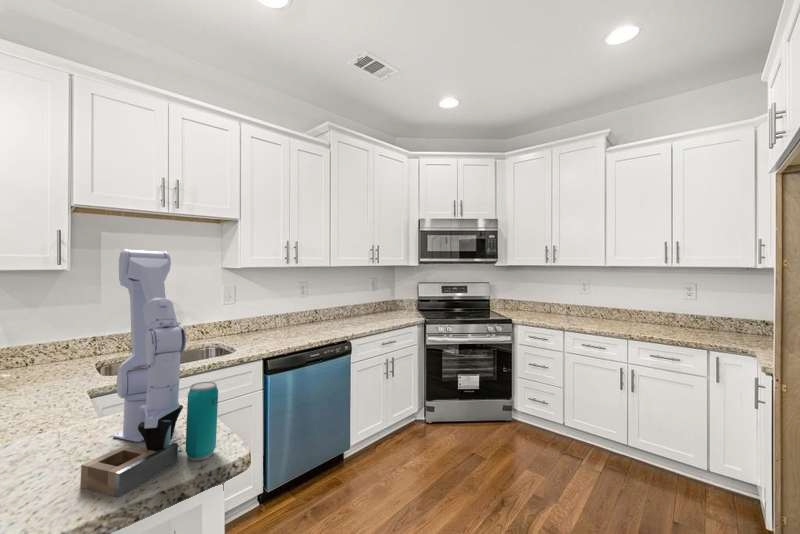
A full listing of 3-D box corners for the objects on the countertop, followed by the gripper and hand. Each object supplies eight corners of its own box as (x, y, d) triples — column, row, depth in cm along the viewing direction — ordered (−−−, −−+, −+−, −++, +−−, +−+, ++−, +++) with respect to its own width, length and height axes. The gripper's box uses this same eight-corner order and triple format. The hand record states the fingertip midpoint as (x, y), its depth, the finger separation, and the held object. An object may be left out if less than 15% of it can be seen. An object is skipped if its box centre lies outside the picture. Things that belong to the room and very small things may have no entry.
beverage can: (219, 448, 82) (222, 381, 82) (210, 461, 76) (213, 389, 77) (191, 449, 81) (194, 381, 81) (180, 463, 75) (183, 389, 76)
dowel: (160, 451, 80) (162, 419, 80) (173, 454, 79) (175, 421, 79) (146, 459, 76) (148, 425, 77) (159, 461, 76) (160, 427, 76)
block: (124, 465, 74) (125, 445, 74) (155, 472, 72) (156, 451, 72) (80, 487, 66) (81, 464, 66) (114, 495, 64) (115, 472, 64)
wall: (173, 462, 76) (174, 442, 76) (177, 463, 75) (178, 443, 75) (114, 495, 64) (115, 472, 64) (118, 497, 64) (119, 473, 64)
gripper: (153, 375, 84) (150, 435, 83) (127, 396, 70) (123, 468, 70) (188, 374, 86) (185, 432, 86) (169, 394, 72) (166, 464, 72)
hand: (160, 448), depth 78 cm, fingers open, 6 cm apart
